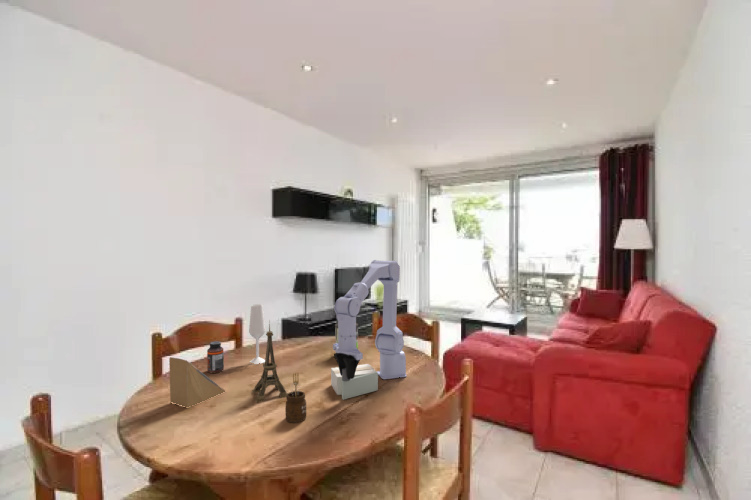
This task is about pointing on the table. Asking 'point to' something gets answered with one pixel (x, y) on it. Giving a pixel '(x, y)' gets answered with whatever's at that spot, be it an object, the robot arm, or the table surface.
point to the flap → (358, 384)
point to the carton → (360, 370)
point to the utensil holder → (295, 404)
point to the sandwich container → (190, 384)
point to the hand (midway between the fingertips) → (347, 376)
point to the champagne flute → (257, 328)
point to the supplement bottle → (215, 357)
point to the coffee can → (337, 334)
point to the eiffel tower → (266, 378)
